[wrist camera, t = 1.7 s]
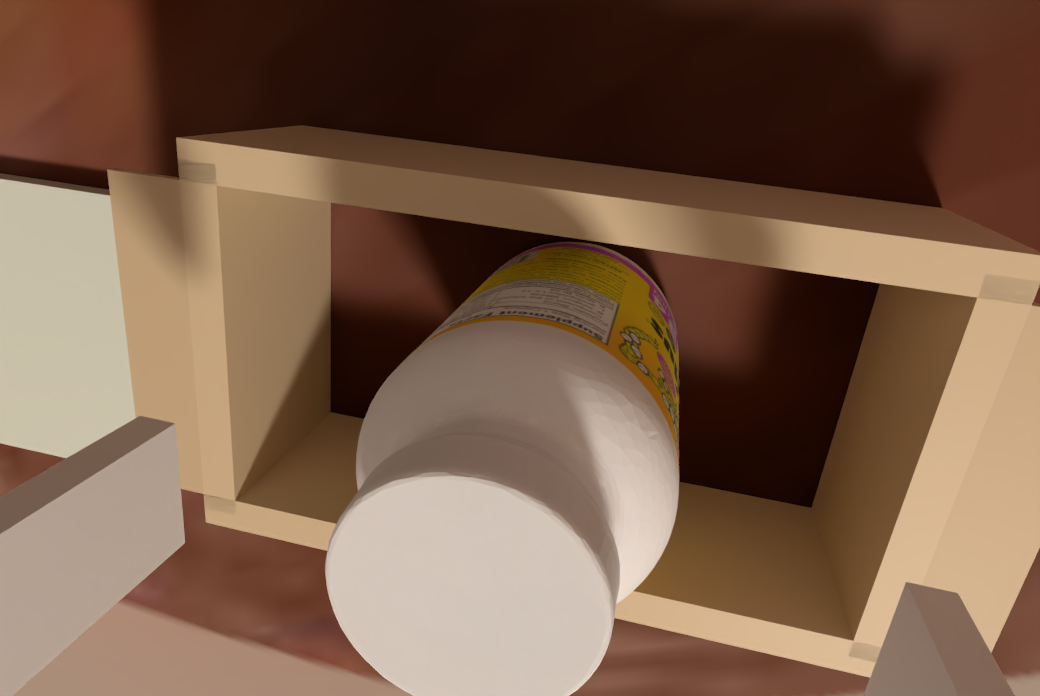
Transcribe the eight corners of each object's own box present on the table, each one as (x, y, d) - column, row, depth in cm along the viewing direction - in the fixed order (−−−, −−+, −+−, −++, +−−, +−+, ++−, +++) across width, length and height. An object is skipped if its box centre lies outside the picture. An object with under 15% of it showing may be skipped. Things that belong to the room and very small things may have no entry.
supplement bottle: (656, 447, 23) (633, 815, 12) (467, 407, 24) (267, 707, 13) (699, 254, 21) (727, 469, 9) (487, 218, 22) (261, 370, 10)
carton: (244, 117, 22) (102, 127, 17) (1022, 218, 19) (1166, 272, 13) (257, 420, 26) (146, 508, 21) (899, 552, 23) (969, 700, 17)
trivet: (-51, 165, 25) (-74, 167, 25) (221, 206, 24) (206, 210, 23) (1, 430, 29) (-17, 439, 29) (237, 482, 28) (225, 493, 27)
